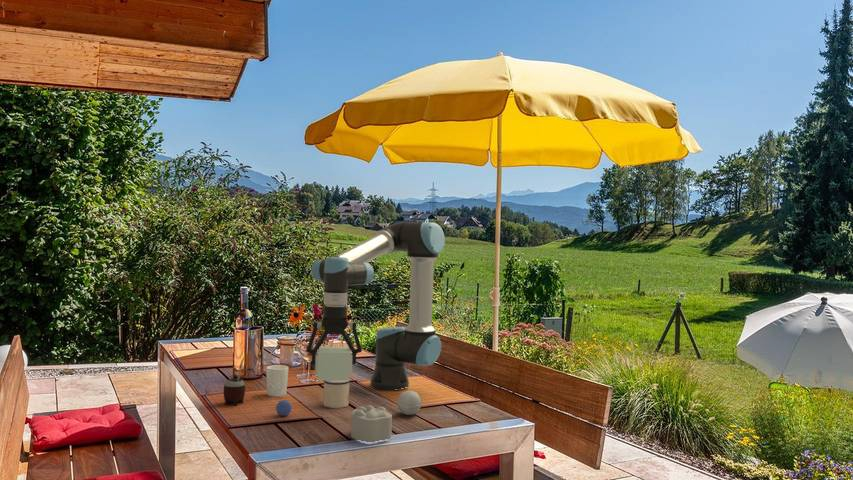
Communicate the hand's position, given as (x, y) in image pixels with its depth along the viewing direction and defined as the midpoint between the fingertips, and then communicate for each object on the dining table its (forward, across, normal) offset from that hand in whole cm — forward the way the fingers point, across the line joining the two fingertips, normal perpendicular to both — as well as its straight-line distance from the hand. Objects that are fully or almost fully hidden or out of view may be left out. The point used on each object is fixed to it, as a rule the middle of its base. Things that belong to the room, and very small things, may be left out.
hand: (333, 374), depth 212 cm
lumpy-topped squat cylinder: (+15, +11, -19) cm, 26 cm away
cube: (+1, 0, 0) cm, 1 cm away
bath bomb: (+15, +25, +4) cm, 30 cm away
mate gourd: (+15, -33, +20) cm, 41 cm away
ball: (+12, -16, +4) cm, 20 cm away
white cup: (+15, -20, +31) cm, 40 cm away
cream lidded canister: (+15, +1, +18) cm, 23 cm away
